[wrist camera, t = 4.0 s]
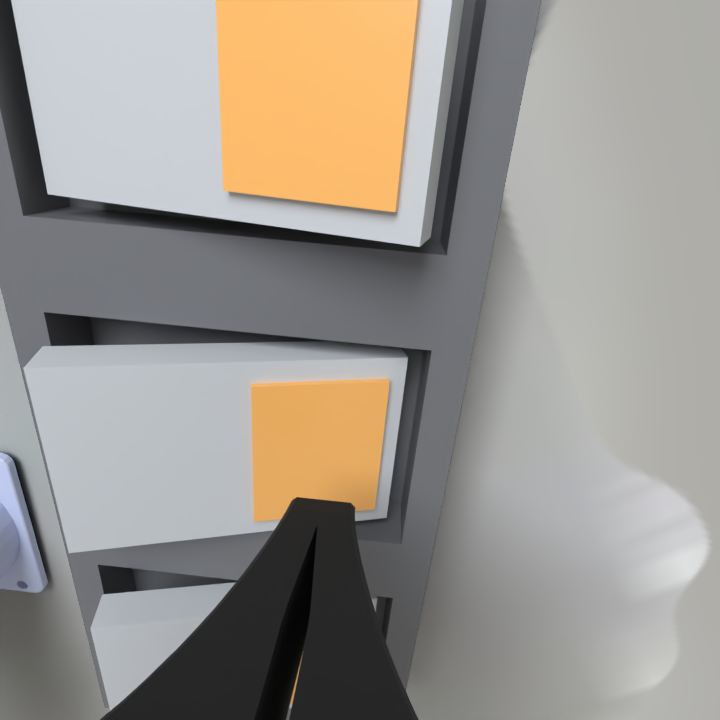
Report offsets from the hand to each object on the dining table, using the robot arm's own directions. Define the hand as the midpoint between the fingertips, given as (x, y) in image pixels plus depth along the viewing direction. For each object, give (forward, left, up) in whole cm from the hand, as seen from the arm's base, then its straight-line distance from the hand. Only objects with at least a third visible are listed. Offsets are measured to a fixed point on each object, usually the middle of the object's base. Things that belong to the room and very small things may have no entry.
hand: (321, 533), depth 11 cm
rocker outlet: (-3, +9, -3) cm, 10 cm away
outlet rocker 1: (-3, 0, -3) cm, 4 cm away
